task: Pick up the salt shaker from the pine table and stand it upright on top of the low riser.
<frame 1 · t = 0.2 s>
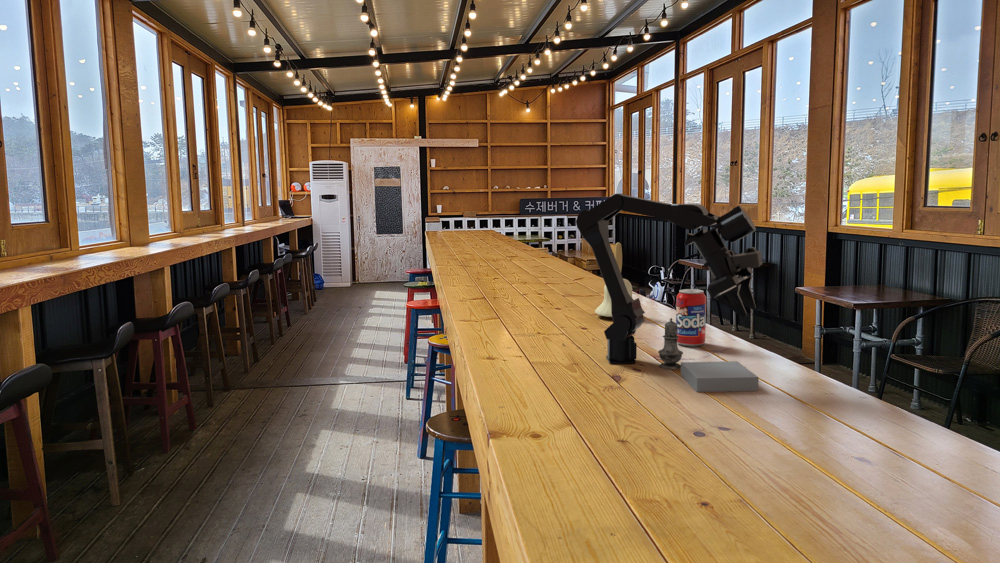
hand: (749, 312, 152), 15 cm above the table, tool tilted 30°, fingers open, 9 cm apart
riser: (717, 382, 149), on the table
soda can: (690, 345, 184), on the table
handbell: (618, 317, 224), on the table
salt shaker: (670, 367, 163), on the table
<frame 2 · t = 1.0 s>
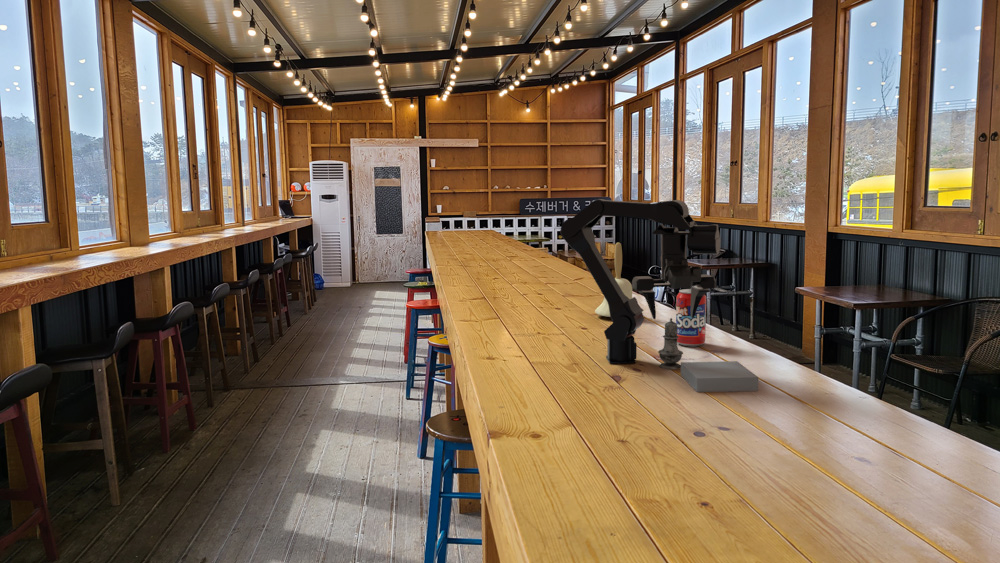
hand: (673, 318, 161), 12 cm above the table, tool pointing down, fingers open, 9 cm apart
nothing on the table moved.
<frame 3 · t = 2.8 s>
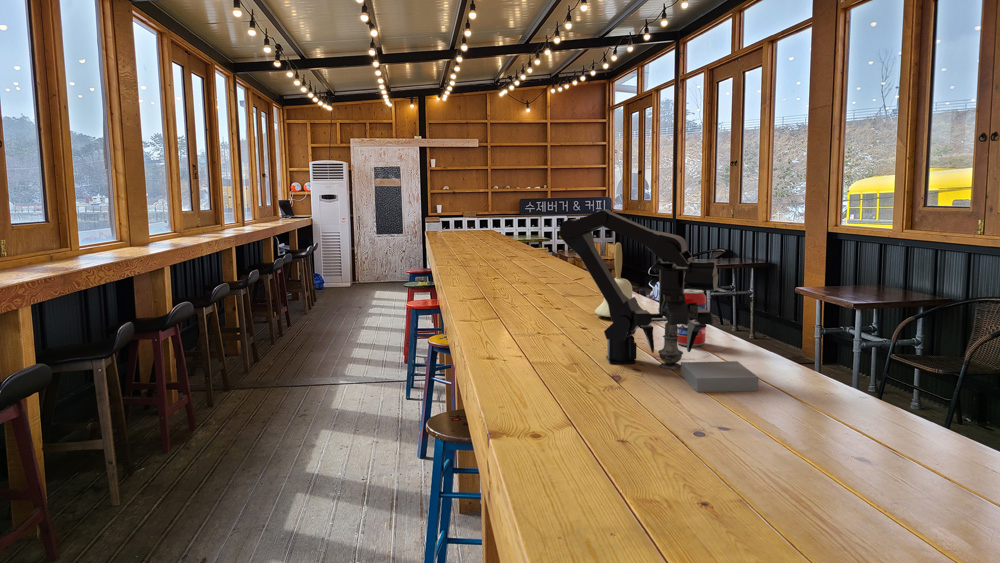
hand: (670, 352, 162), 4 cm above the table, tool pointing down, fingers closed on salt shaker, 8 cm apart
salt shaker: (670, 367, 163), on the table, touching gripper
everything else where it was.
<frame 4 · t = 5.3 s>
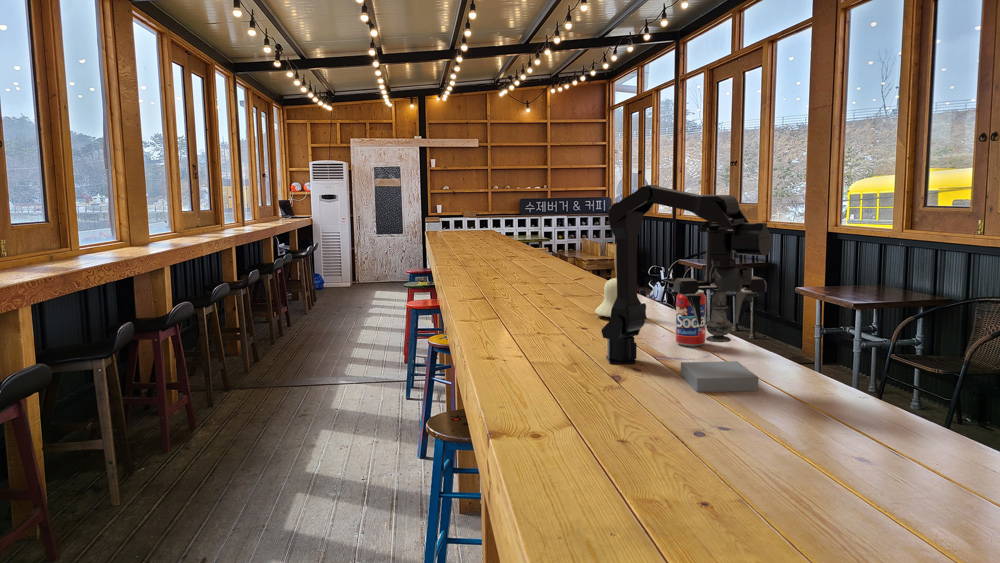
hand: (718, 324, 147), 13 cm above the table, tool pointing down, fingers closed on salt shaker, 8 cm apart
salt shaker: (718, 340, 148), point 9 cm above the table, touching gripper
everything else where it was.
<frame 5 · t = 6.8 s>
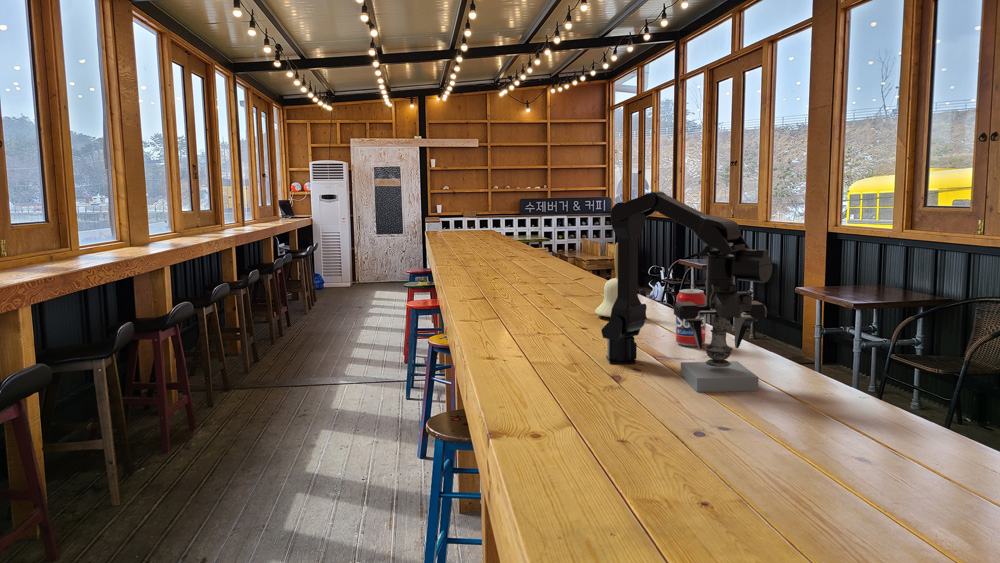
hand: (718, 348, 148), 8 cm above the table, tool pointing down, fingers closed on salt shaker, 8 cm apart
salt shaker: (718, 364, 148), point 4 cm above the table, touching gripper
everything else where it was.
when the fingers open (8 cm above the table, at t = 7.9 s): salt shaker drops 1 cm, resting on riser.
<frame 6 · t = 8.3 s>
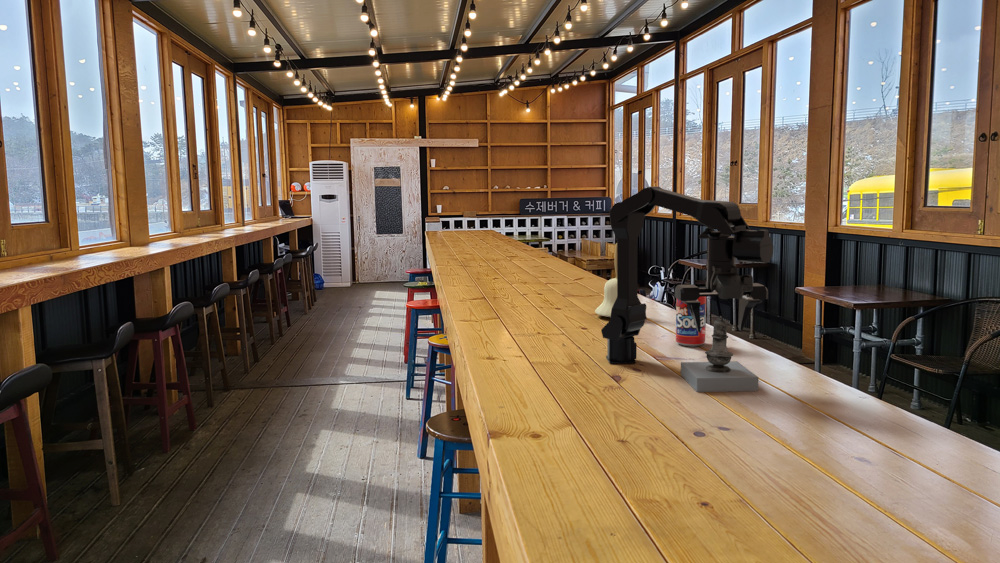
hand: (719, 330, 147), 12 cm above the table, tool pointing down, fingers open, 9 cm apart
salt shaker: (718, 369, 148), point 3 cm above the table, touching riser
everything else where it was.
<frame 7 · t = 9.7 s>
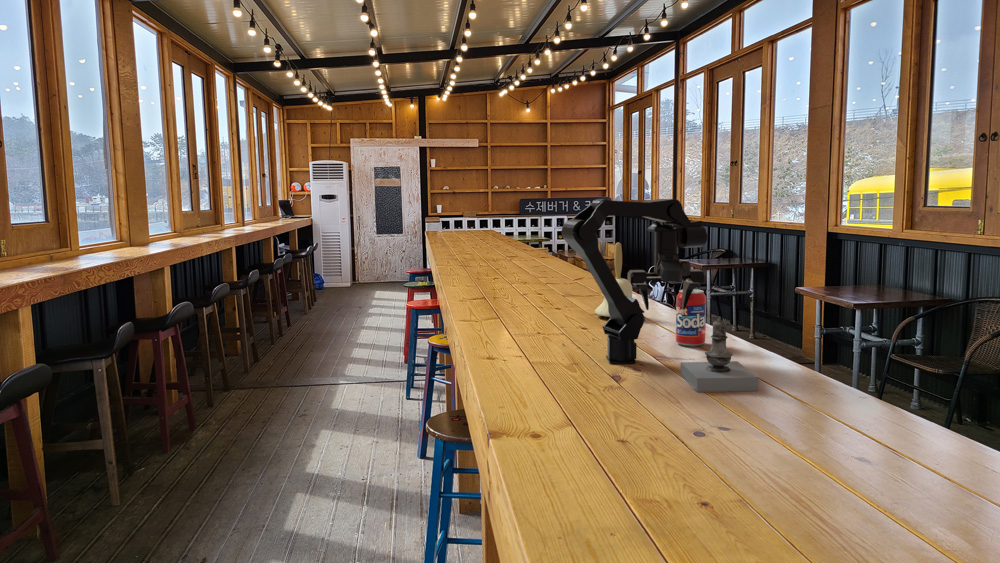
hand: (665, 309, 171), 12 cm above the table, tool pointing down, fingers open, 9 cm apart
nothing on the table moved.
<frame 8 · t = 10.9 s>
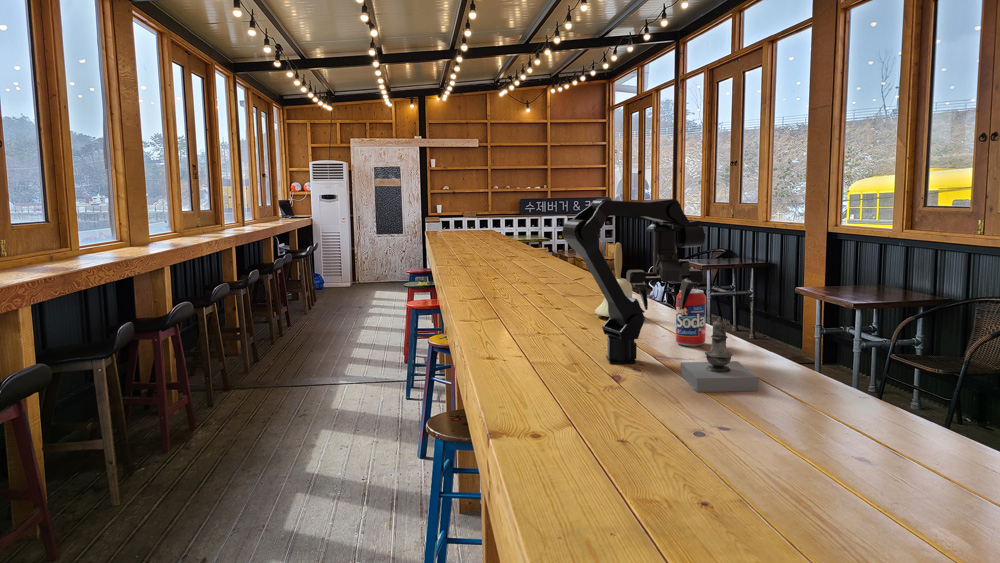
hand: (664, 309, 172), 12 cm above the table, tool pointing down, fingers open, 9 cm apart
nothing on the table moved.
at the end: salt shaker inside the target area on the riser (0.1 cm from its centre), point 2.8 cm above the riser's base; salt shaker tilted 0°; the gripper is holding nothing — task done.
